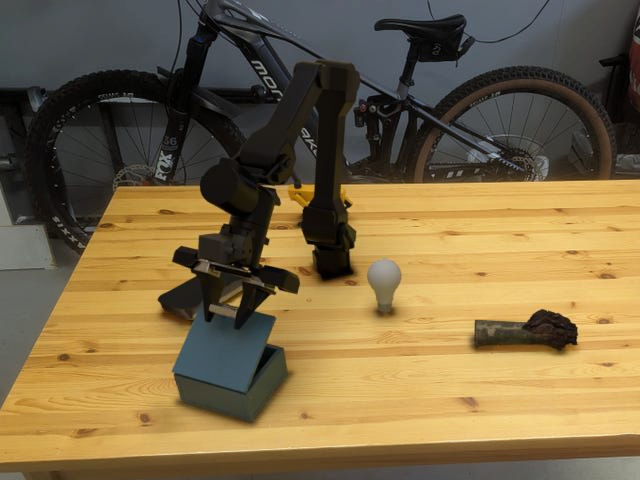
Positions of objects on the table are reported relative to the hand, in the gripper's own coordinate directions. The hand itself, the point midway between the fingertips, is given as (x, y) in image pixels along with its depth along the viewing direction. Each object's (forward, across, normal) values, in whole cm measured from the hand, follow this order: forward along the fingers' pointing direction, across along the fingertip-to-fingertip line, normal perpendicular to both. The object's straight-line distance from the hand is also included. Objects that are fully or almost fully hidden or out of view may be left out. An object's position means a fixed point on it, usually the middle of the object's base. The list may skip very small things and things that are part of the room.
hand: (221, 325), depth 98 cm
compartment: (+9, 0, +9) cm, 13 cm away
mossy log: (-10, +41, +29) cm, 51 cm away
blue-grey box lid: (+3, 0, +2) cm, 4 cm away
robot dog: (-27, -13, +46) cm, 55 cm away
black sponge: (-4, -18, +23) cm, 29 cm away
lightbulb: (-10, +15, +29) cm, 34 cm away
